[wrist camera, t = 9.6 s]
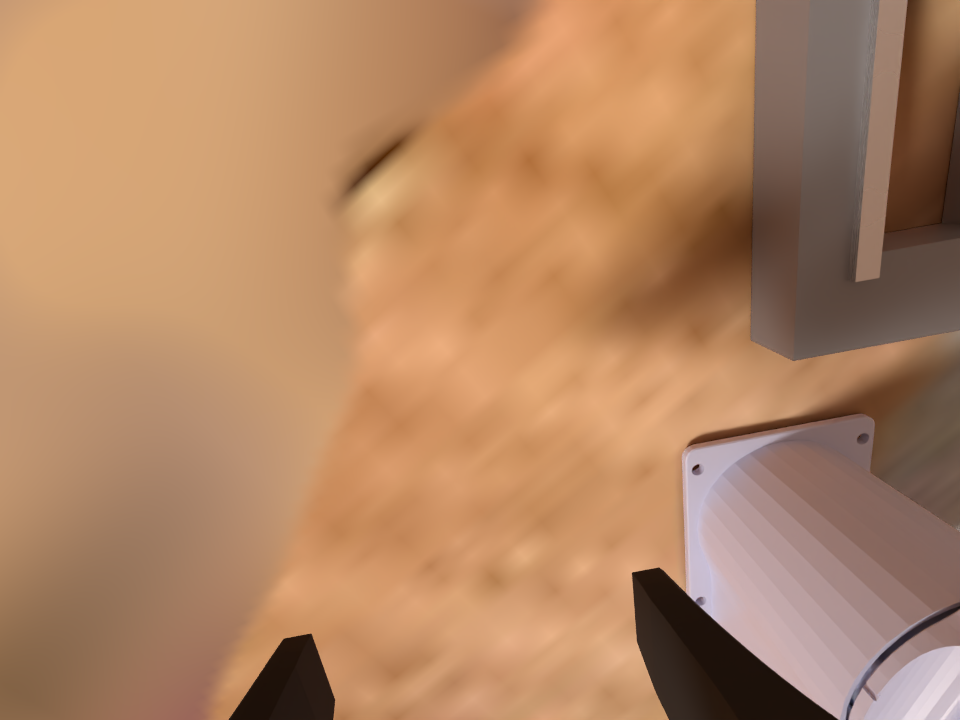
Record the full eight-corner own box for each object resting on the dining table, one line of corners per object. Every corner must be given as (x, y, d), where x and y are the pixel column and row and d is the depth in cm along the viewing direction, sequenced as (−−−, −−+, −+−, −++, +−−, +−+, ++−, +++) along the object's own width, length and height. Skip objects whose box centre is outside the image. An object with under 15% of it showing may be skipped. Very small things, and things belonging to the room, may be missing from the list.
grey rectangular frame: (997, 295, 20) (1082, 311, 17) (750, 340, 20) (798, 363, 17) (1079, -155, 15) (1213, -227, 13) (758, -102, 15) (825, -164, 12)
